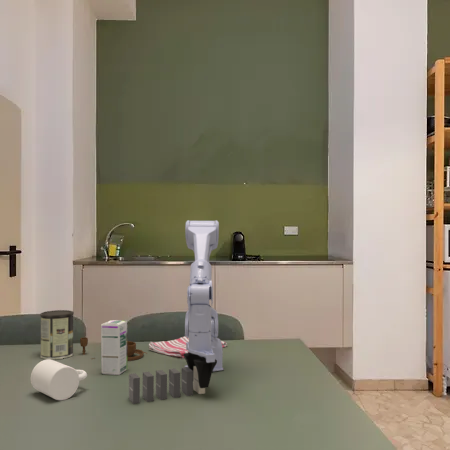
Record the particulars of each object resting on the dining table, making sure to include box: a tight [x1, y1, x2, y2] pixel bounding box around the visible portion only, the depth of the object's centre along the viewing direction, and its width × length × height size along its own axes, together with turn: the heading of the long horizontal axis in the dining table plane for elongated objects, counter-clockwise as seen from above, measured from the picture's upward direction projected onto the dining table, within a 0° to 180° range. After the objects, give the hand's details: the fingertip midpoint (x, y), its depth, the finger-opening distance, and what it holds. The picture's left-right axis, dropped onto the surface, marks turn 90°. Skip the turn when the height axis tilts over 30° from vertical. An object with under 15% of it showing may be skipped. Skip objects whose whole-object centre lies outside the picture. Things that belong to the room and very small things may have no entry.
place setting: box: [79, 336, 148, 362], centre depth 161 cm, size 18×20×6 cm
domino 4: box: [168, 368, 181, 399], centre depth 122 cm, size 2×4×6 cm, turn 25°
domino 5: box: [180, 366, 194, 397], centre depth 123 cm, size 2×4×6 cm, turn 25°
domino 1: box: [128, 372, 141, 405], centre depth 117 cm, size 2×4×6 cm, turn 25°
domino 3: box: [155, 369, 168, 401], centre depth 120 cm, size 2×4×6 cm, turn 25°
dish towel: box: [148, 335, 228, 360], centre depth 170 cm, size 17×23×4 cm
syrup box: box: [100, 319, 129, 376], centre depth 141 cm, size 6×6×14 cm
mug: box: [30, 359, 88, 401], centre depth 123 cm, size 12×10×8 cm
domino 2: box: [141, 371, 155, 403], centre depth 119 cm, size 2×4×6 cm, turn 25°
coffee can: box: [40, 309, 74, 361], centre depth 159 cm, size 10×10×14 cm
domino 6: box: [193, 366, 206, 395], centre depth 125 cm, size 2×4×6 cm, turn 25°
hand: (199, 384), depth 125 cm, fingers open, 5 cm apart
